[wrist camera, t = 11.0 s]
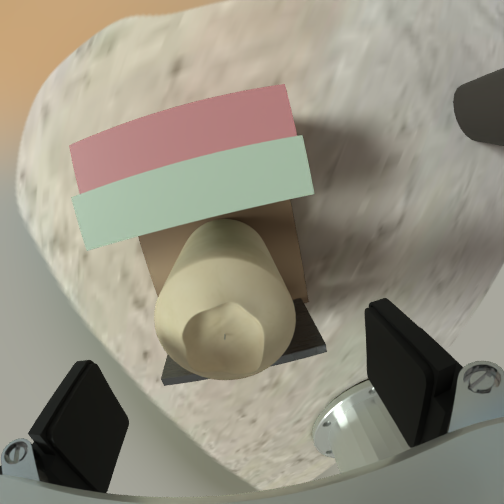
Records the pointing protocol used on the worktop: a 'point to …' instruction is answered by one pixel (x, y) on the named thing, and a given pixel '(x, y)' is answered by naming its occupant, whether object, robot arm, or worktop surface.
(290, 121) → the books
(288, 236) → the brown wooden board
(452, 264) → the worktop surface
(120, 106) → the worktop surface
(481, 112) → the coffee cup
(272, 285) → the candle
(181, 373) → the bookend
